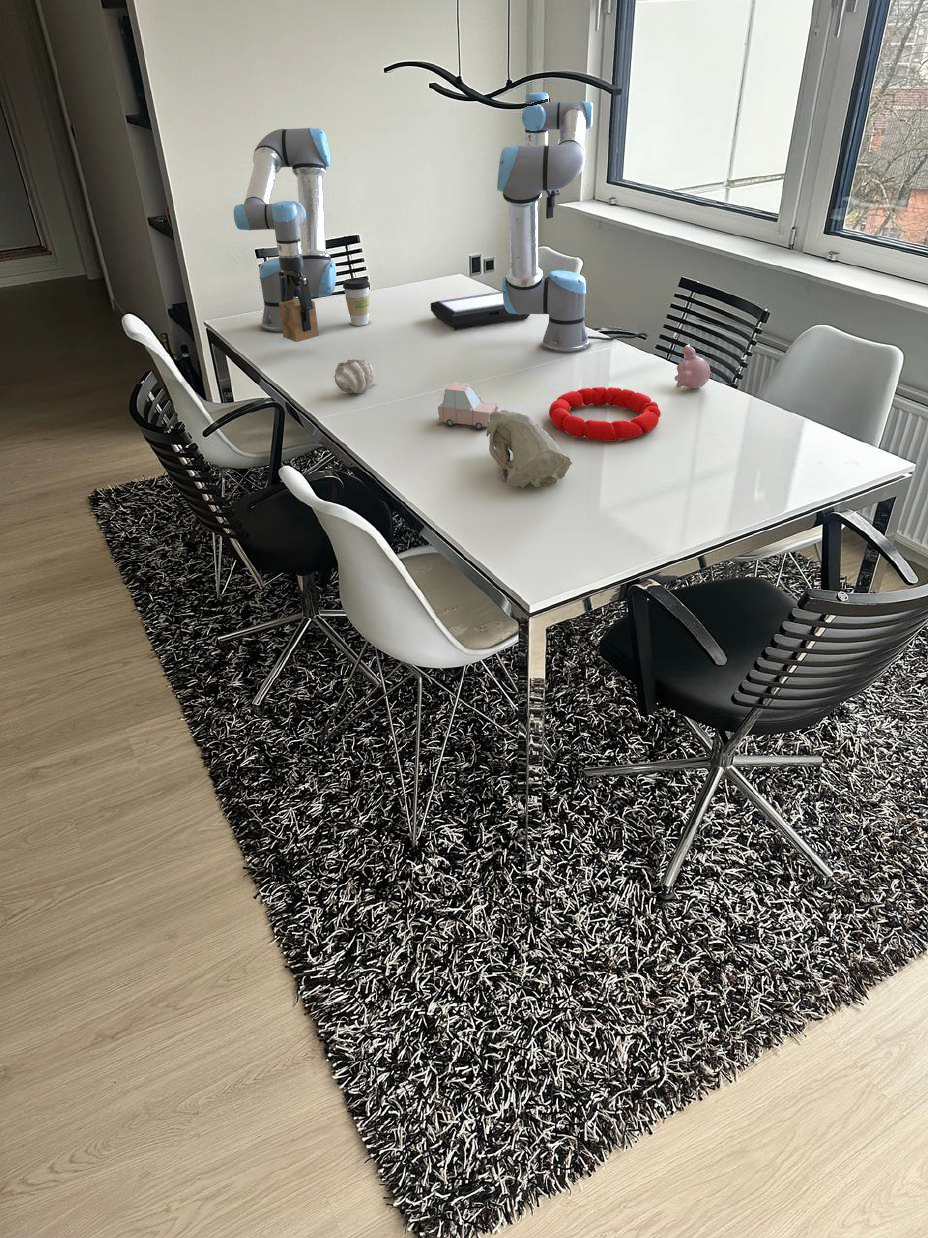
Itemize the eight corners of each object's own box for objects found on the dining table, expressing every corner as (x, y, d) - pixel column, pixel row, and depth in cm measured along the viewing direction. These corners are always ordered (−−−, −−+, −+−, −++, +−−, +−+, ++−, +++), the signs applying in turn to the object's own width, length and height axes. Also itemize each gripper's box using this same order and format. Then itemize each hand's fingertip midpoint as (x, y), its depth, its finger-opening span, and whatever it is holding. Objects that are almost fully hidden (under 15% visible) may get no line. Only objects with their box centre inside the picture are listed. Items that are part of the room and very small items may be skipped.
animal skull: (496, 517, 219) (521, 479, 201) (463, 429, 225) (484, 384, 207) (557, 503, 225) (586, 465, 206) (523, 417, 231) (549, 373, 212)
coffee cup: (372, 326, 323) (368, 283, 314) (345, 327, 323) (340, 284, 315) (374, 318, 331) (371, 276, 322) (348, 319, 331) (344, 277, 323)
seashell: (327, 392, 269) (323, 359, 263) (372, 382, 274) (369, 350, 269) (340, 402, 261) (336, 369, 255) (386, 392, 267) (383, 359, 261)
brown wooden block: (283, 337, 297) (278, 302, 290) (305, 330, 302) (301, 297, 295) (296, 342, 292) (291, 307, 286) (318, 335, 297) (314, 301, 291)
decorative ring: (589, 435, 224) (684, 402, 234) (527, 398, 247) (617, 369, 256) (589, 461, 229) (683, 427, 238) (529, 422, 251) (617, 393, 260)
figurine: (665, 387, 264) (669, 347, 257) (693, 380, 268) (698, 340, 261) (686, 396, 257) (690, 355, 250) (714, 388, 262) (720, 348, 255)
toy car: (488, 432, 240) (488, 396, 234) (436, 426, 244) (434, 390, 239) (499, 419, 247) (499, 384, 241) (448, 413, 252) (447, 379, 246)
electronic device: (452, 314, 311) (430, 300, 326) (452, 332, 314) (431, 318, 330) (532, 301, 321) (508, 289, 336) (532, 319, 325) (508, 305, 340)
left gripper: (262, 252, 286) (273, 324, 300) (298, 262, 274) (308, 337, 287) (282, 248, 291) (292, 319, 304) (318, 258, 278) (327, 331, 291)
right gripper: (501, 144, 301) (502, 212, 313) (556, 150, 286) (554, 221, 298) (517, 142, 305) (517, 209, 317) (571, 147, 290) (569, 218, 302)
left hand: (300, 327), depth 295 cm, fingers closed on brown wooden block, 8 cm apart
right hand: (535, 215), depth 308 cm, fingers open, 13 cm apart
